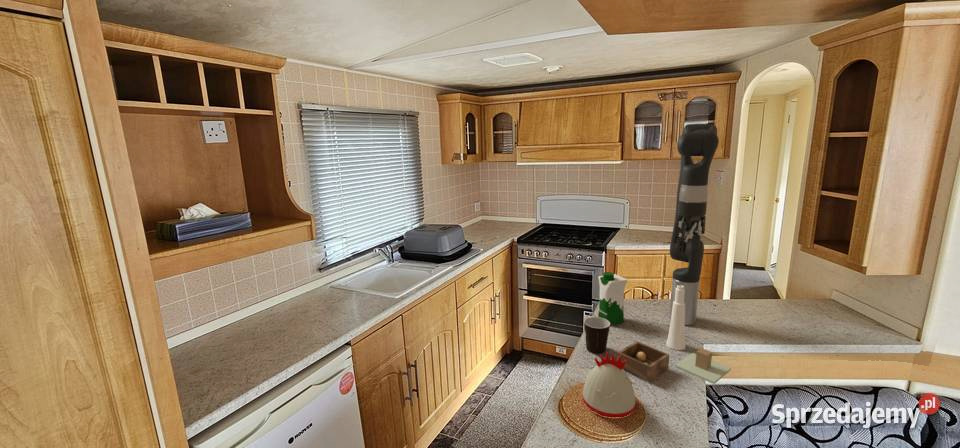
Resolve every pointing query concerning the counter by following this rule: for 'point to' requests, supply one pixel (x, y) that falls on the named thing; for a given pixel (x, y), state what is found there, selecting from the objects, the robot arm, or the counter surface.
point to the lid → (703, 366)
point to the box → (638, 368)
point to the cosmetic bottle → (677, 321)
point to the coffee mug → (596, 334)
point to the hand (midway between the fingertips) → (688, 250)
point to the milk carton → (611, 297)
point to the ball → (641, 356)
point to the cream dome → (609, 388)
